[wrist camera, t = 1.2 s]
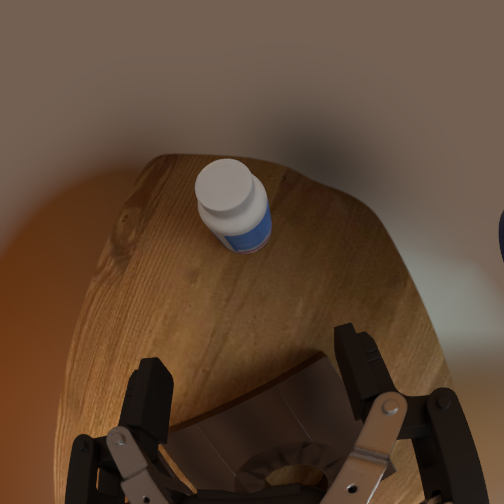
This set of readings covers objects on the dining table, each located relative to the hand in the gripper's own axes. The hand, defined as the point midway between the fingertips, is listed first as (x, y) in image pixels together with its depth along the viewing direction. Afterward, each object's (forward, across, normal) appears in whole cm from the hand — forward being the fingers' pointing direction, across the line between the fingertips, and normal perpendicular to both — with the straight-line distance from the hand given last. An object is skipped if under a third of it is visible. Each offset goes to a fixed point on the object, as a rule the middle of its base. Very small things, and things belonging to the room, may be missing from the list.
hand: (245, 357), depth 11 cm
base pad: (0, +1, +19) cm, 19 cm away
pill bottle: (+17, 0, +2) cm, 17 cm away
